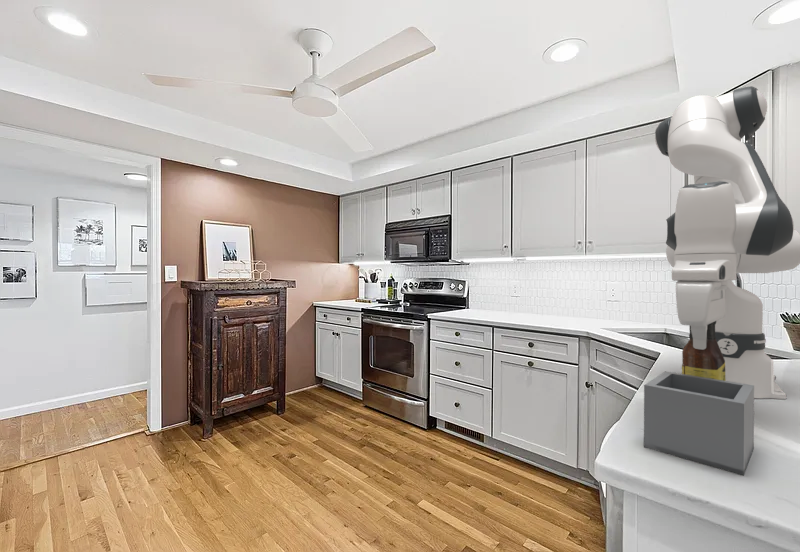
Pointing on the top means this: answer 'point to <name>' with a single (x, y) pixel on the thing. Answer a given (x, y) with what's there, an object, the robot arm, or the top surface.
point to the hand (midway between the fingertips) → (703, 346)
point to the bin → (700, 420)
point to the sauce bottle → (704, 358)
